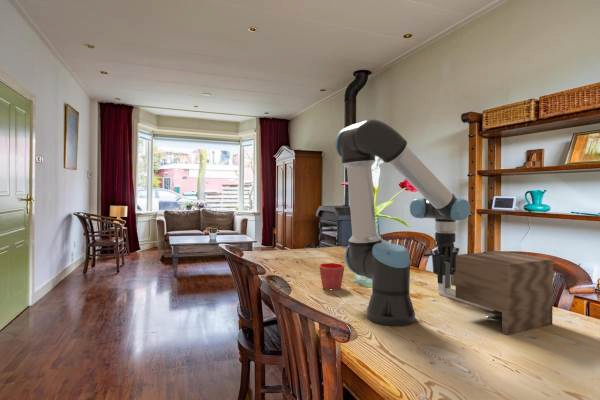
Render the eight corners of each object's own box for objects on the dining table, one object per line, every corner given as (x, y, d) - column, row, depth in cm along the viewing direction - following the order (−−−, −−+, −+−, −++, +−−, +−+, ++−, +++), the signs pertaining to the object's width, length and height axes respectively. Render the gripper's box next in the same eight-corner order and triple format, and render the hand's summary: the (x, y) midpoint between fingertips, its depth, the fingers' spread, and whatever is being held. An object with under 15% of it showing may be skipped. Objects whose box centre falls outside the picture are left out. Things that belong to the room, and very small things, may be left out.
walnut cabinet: (506, 335, 101) (507, 264, 101) (455, 315, 117) (455, 255, 117) (552, 324, 110) (553, 259, 109) (498, 307, 126) (499, 250, 126)
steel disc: (495, 323, 111) (495, 319, 111) (481, 318, 116) (481, 315, 116) (505, 320, 114) (505, 316, 114) (490, 315, 118) (490, 312, 118)
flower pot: (348, 286, 154) (348, 264, 154) (337, 292, 144) (337, 269, 144) (326, 283, 159) (327, 262, 159) (314, 289, 150) (314, 266, 150)
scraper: (493, 312, 121) (493, 273, 121) (438, 294, 143) (438, 261, 142) (499, 310, 122) (500, 273, 122) (444, 293, 144) (444, 261, 144)
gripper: (451, 230, 148) (451, 286, 149) (423, 232, 142) (422, 290, 142) (467, 232, 141) (466, 291, 142) (437, 234, 135) (437, 295, 135)
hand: (444, 290), depth 142 cm, fingers closed on scraper, 2 cm apart
